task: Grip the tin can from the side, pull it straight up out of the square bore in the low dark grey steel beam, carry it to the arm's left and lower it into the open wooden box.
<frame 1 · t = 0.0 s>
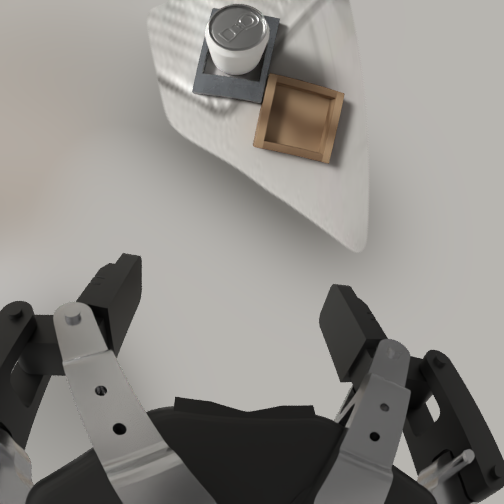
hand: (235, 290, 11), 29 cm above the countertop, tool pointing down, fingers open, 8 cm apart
can: (236, 55, 31), resting in bore beam
bore beam: (236, 54, 30), on the countertop
open wooden box: (296, 118, 35), on the countertop
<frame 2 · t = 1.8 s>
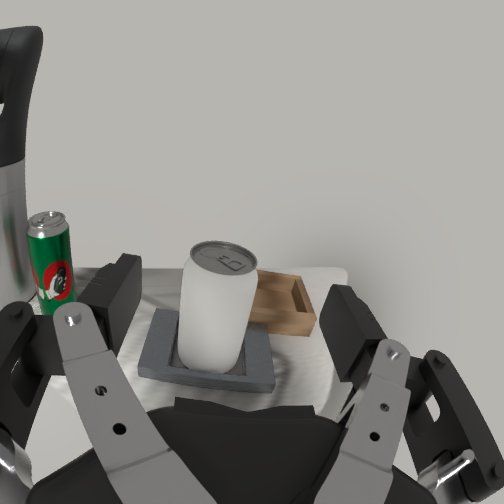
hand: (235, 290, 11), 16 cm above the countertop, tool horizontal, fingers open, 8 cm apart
soda can: (61, 313, 27), on the countertop
can: (207, 355, 28), resting in bore beam
bore beam: (207, 354, 28), on the countertop
open wooden box: (267, 308, 38), on the countertop
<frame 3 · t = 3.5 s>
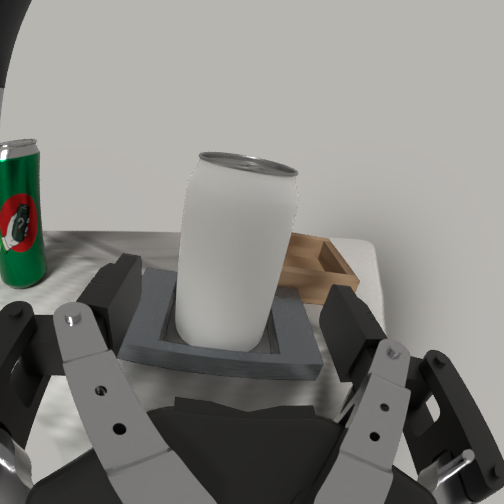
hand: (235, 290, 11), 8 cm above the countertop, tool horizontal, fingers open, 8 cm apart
soda can: (25, 278, 19), on the countertop
can: (218, 330, 20), resting in bore beam
bore beam: (218, 328, 20), on the countertop
open wooden box: (292, 275, 30), on the countertop
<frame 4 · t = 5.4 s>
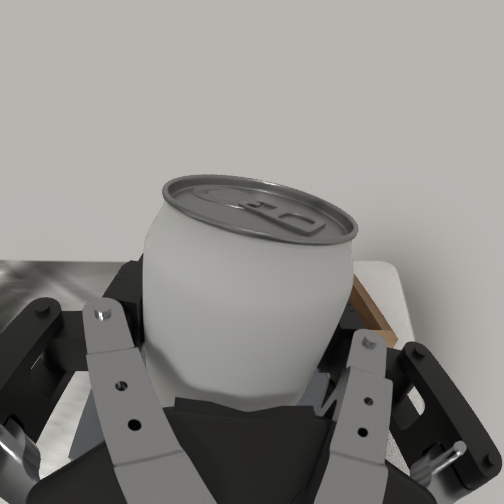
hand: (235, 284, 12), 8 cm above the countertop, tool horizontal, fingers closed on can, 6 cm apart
can: (213, 424, 13), resting in bore beam, touching gripper
bore beam: (214, 423, 13), on the countertop
open wooden box: (309, 324, 23), on the countertop
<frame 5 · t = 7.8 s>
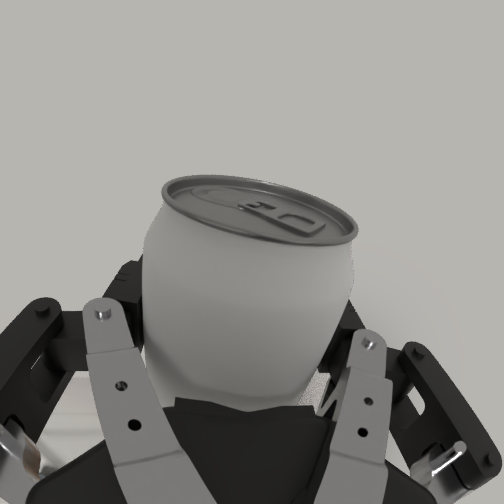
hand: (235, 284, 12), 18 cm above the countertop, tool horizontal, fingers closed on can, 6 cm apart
can: (213, 425, 13), point 10 cm above the countertop, touching gripper
when the fingers open (9 cm above the countertop, at t = 10.1 s): can stays where it is, resting on open wooden box.
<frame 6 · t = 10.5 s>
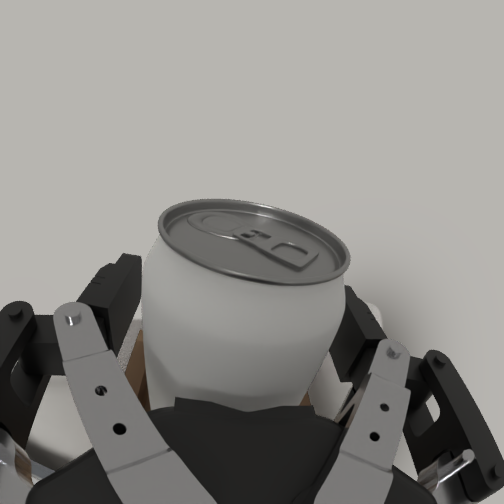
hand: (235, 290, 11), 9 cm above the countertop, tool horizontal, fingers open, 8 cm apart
can: (212, 433, 13), resting on open wooden box
open wooden box: (211, 433, 13), on the countertop
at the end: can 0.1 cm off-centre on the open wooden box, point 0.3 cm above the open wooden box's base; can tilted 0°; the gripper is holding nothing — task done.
